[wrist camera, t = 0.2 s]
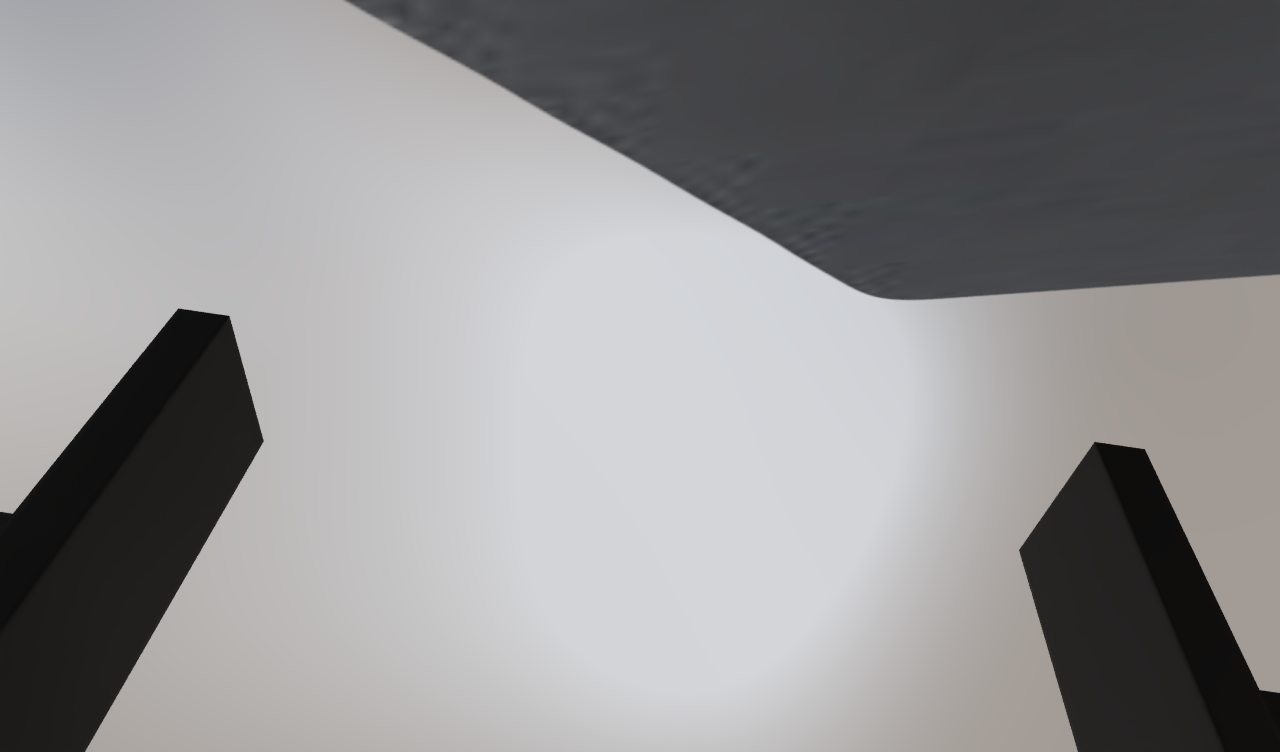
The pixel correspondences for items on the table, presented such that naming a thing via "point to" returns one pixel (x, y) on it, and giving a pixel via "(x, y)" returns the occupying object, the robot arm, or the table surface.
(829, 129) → the table surface
